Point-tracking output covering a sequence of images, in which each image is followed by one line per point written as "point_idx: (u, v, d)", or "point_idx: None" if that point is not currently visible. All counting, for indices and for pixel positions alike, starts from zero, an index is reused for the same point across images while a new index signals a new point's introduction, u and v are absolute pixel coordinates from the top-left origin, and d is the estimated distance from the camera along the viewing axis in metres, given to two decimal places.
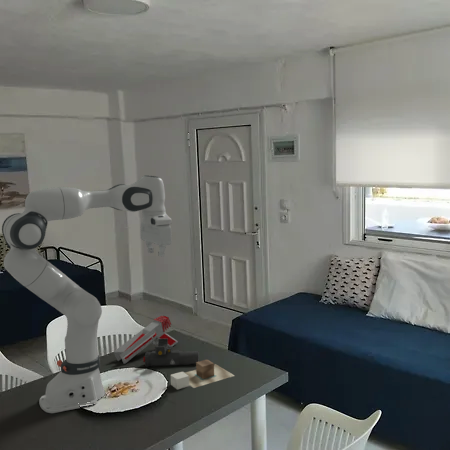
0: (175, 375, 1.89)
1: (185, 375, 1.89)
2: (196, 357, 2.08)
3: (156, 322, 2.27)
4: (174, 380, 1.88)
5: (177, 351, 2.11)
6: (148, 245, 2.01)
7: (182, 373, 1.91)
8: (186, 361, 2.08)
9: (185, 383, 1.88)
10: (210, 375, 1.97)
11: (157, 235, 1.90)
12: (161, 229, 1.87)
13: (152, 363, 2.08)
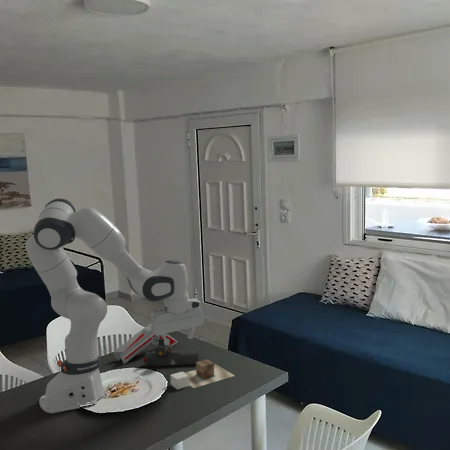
0: (175, 375, 1.89)
1: (185, 375, 1.89)
2: (196, 357, 2.08)
3: None
4: (174, 380, 1.88)
5: (177, 351, 2.10)
6: (165, 337, 1.84)
7: (182, 373, 1.91)
8: (187, 361, 2.08)
9: (185, 383, 1.88)
10: (210, 375, 1.97)
11: (194, 317, 1.89)
12: None
13: (153, 363, 2.08)
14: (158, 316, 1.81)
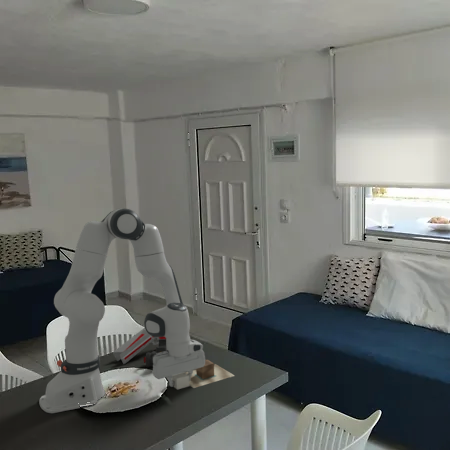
0: (175, 375, 1.89)
1: (185, 375, 1.89)
2: None
3: None
4: (174, 380, 1.88)
5: None
6: (170, 379, 1.87)
7: (182, 373, 1.91)
8: None
9: (185, 383, 1.88)
10: (210, 375, 1.97)
11: (195, 360, 1.91)
12: None
13: None
14: (160, 360, 1.83)
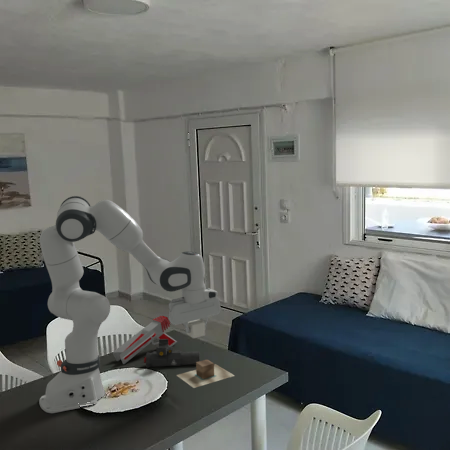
0: (191, 322, 1.91)
1: (201, 322, 1.91)
2: (197, 357, 2.08)
3: (155, 322, 2.27)
4: (189, 326, 1.90)
5: (178, 351, 2.10)
6: None
7: (198, 320, 1.93)
8: (187, 362, 2.08)
9: (201, 330, 1.90)
10: (210, 375, 1.97)
11: (211, 307, 1.92)
12: None
13: (154, 364, 2.08)
14: (176, 306, 1.85)
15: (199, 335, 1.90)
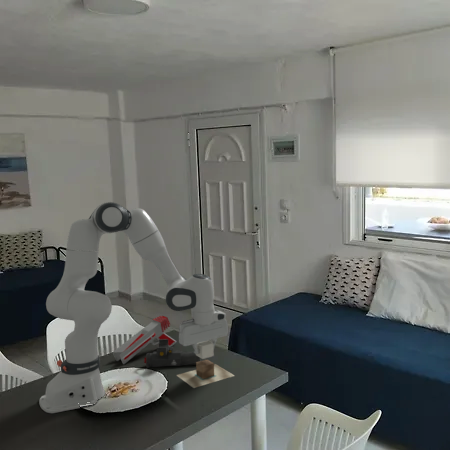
0: (200, 343, 1.97)
1: (209, 343, 1.97)
2: (197, 358, 2.08)
3: (155, 322, 2.27)
4: (198, 347, 1.96)
5: (178, 352, 2.10)
6: (196, 347, 1.95)
7: (206, 341, 1.99)
8: (188, 362, 2.08)
9: (210, 350, 1.96)
10: (210, 375, 1.97)
11: (219, 329, 1.98)
12: None
13: (154, 364, 2.07)
14: (186, 328, 1.90)
15: (208, 356, 1.96)
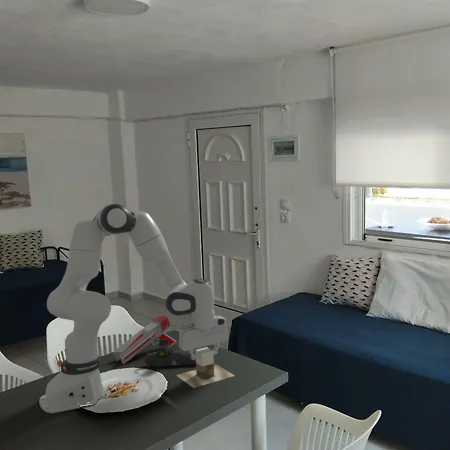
0: (200, 350, 1.97)
1: (209, 350, 1.97)
2: None
3: (155, 322, 2.27)
4: (198, 355, 1.96)
5: (178, 352, 2.10)
6: (192, 352, 1.94)
7: (206, 348, 1.99)
8: (188, 362, 2.08)
9: (210, 358, 1.96)
10: (210, 375, 1.97)
11: (219, 334, 1.98)
12: None
13: (154, 364, 2.07)
14: (186, 333, 1.90)
15: (208, 363, 1.96)
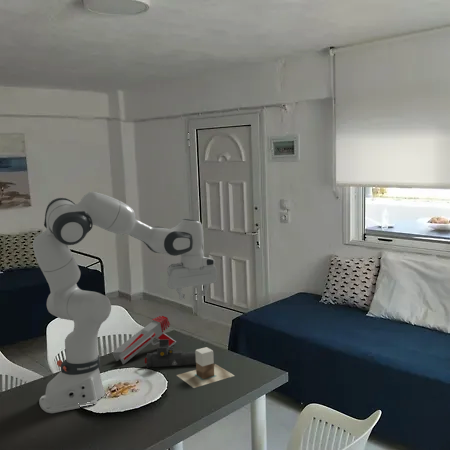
0: (200, 350, 1.97)
1: (209, 350, 1.97)
2: None
3: (155, 322, 2.27)
4: (198, 355, 1.96)
5: (179, 352, 2.10)
6: None
7: (206, 348, 1.99)
8: (188, 362, 2.08)
9: (210, 358, 1.96)
10: (210, 375, 1.97)
11: (208, 275, 1.98)
12: None
13: (154, 364, 2.07)
14: (175, 270, 1.90)
15: (208, 363, 1.96)
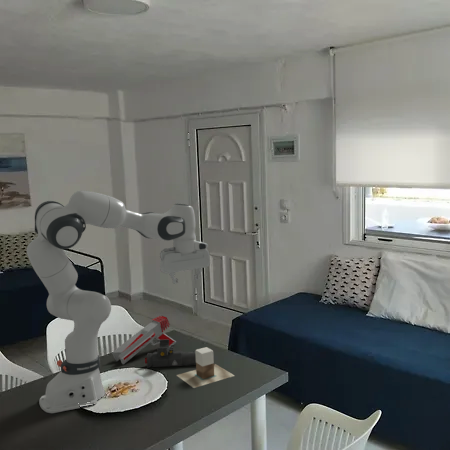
0: (200, 350, 1.97)
1: (209, 350, 1.97)
2: None
3: (154, 322, 2.27)
4: (198, 355, 1.96)
5: (179, 352, 2.10)
6: None
7: (206, 348, 1.99)
8: (189, 362, 2.08)
9: (210, 358, 1.96)
10: (210, 375, 1.97)
11: (201, 259, 1.99)
12: None
13: (155, 364, 2.07)
14: (167, 255, 1.91)
15: (208, 363, 1.96)
